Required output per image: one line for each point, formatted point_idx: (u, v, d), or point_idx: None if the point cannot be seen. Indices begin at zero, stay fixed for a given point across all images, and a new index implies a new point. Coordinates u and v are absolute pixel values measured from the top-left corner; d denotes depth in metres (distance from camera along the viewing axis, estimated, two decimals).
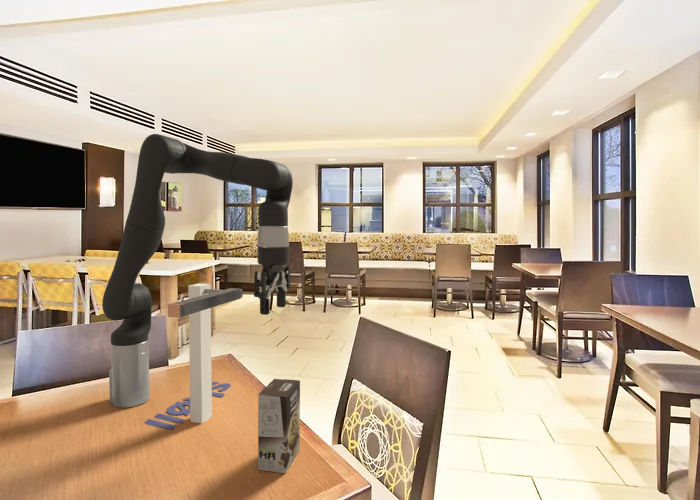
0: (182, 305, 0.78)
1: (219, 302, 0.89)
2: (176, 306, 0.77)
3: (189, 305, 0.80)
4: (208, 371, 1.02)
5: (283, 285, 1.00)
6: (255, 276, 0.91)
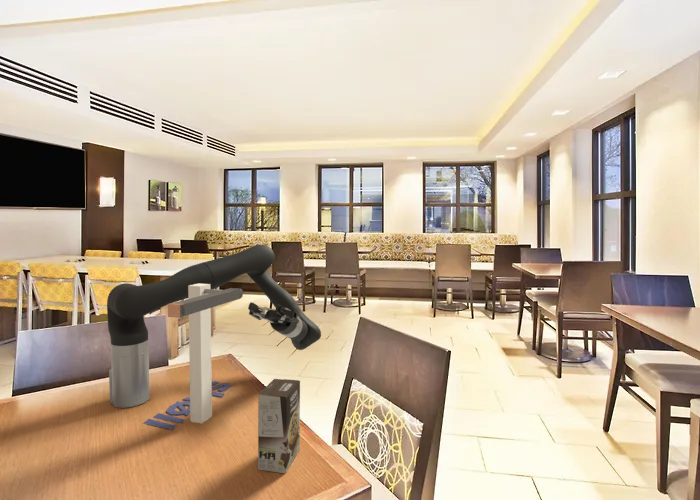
0: (182, 305, 0.78)
1: (219, 302, 0.89)
2: (176, 306, 0.77)
3: (189, 305, 0.80)
4: (208, 371, 1.02)
5: (263, 316, 1.16)
6: (299, 315, 1.17)
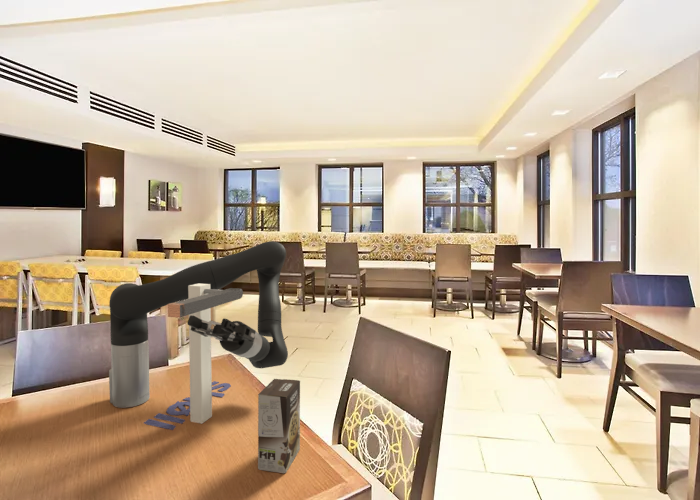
0: (182, 305, 0.78)
1: (219, 302, 0.89)
2: (176, 306, 0.77)
3: (189, 305, 0.80)
4: (208, 371, 1.02)
5: (208, 333, 0.92)
6: (254, 331, 0.93)
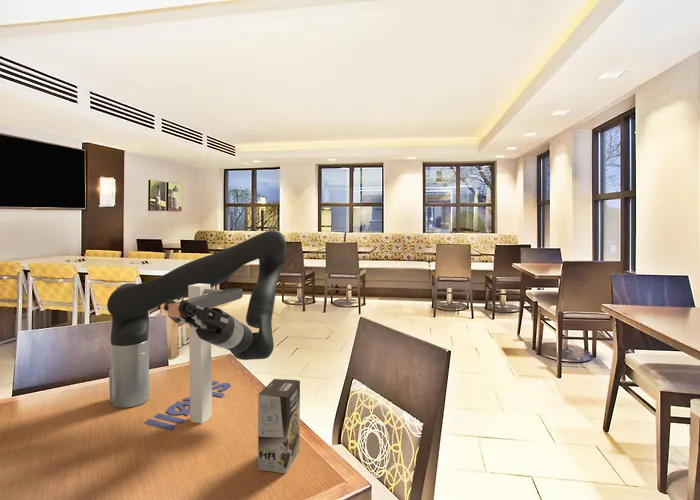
0: None
1: (219, 302, 0.89)
2: (176, 306, 0.77)
3: None
4: (208, 371, 1.02)
5: (186, 320, 0.83)
6: (225, 315, 0.83)
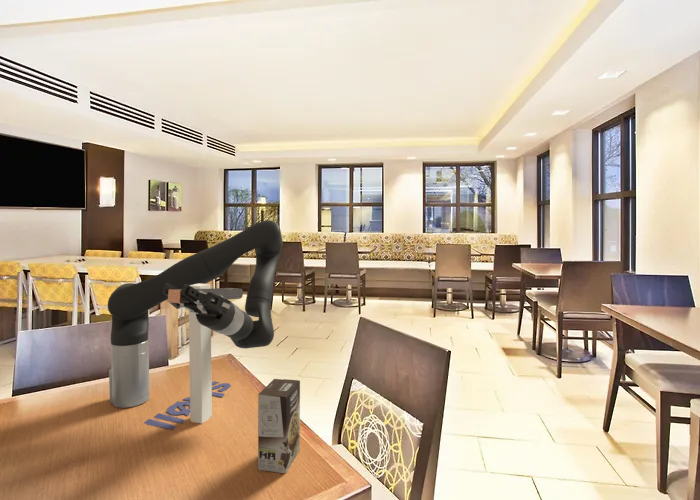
0: None
1: None
2: (177, 291, 0.77)
3: None
4: (208, 371, 1.02)
5: (185, 305, 0.83)
6: (227, 301, 0.83)
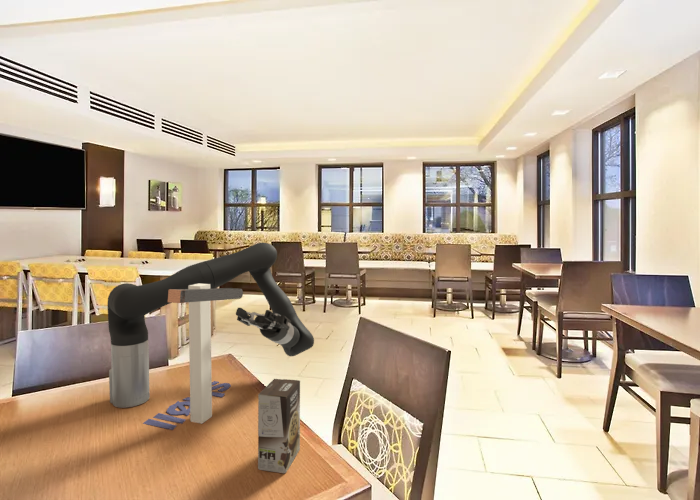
0: (183, 291, 0.78)
1: (219, 297, 0.89)
2: (177, 291, 0.77)
3: (190, 293, 0.80)
4: (208, 371, 1.02)
5: (251, 322, 1.10)
6: (290, 321, 1.11)
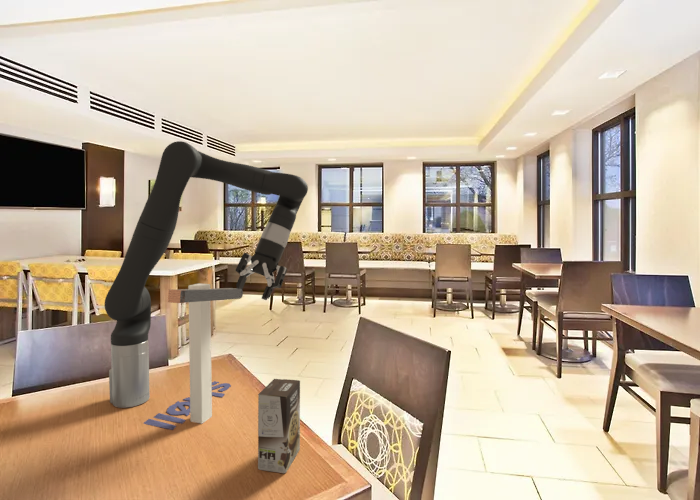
0: (183, 291, 0.78)
1: (219, 297, 0.89)
2: (177, 291, 0.77)
3: (190, 293, 0.80)
4: (208, 371, 1.02)
5: (253, 272, 1.15)
6: (283, 270, 1.10)
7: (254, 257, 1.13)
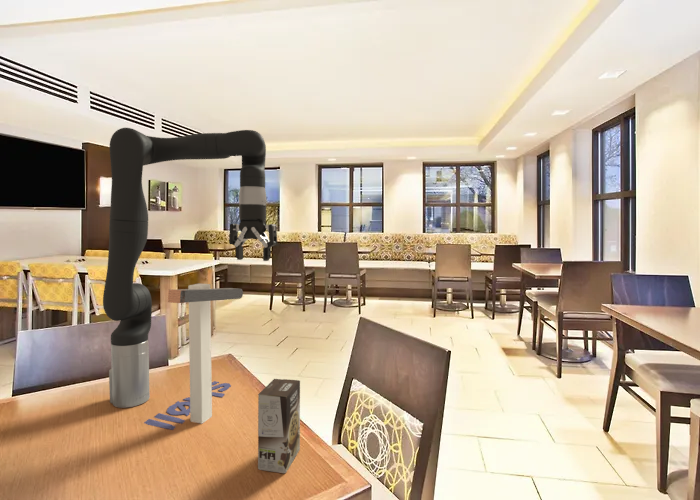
0: (183, 291, 0.78)
1: (219, 297, 0.89)
2: (177, 291, 0.77)
3: (190, 293, 0.80)
4: (208, 371, 1.02)
5: (246, 239, 1.16)
6: (272, 228, 1.11)
7: (241, 225, 1.13)
